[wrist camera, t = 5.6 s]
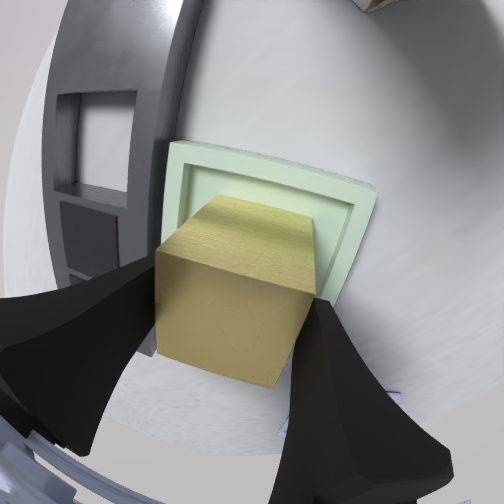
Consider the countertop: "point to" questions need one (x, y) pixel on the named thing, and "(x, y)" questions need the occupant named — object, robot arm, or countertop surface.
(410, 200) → the countertop surface
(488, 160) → the countertop surface
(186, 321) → the brass cube
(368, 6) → the coffee box
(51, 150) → the grey flat long piece
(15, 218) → the countertop surface
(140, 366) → the countertop surface
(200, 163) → the tray
